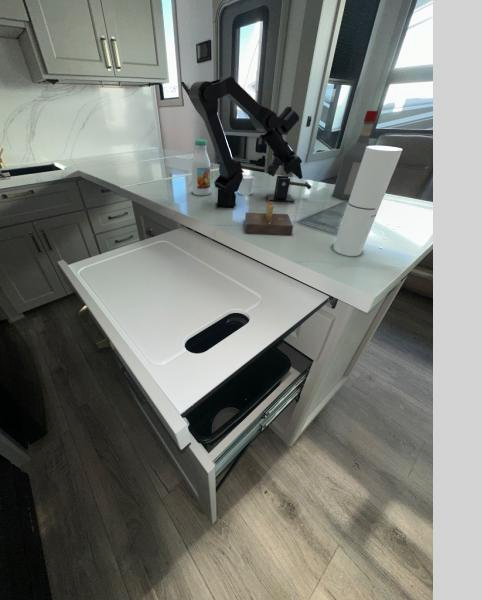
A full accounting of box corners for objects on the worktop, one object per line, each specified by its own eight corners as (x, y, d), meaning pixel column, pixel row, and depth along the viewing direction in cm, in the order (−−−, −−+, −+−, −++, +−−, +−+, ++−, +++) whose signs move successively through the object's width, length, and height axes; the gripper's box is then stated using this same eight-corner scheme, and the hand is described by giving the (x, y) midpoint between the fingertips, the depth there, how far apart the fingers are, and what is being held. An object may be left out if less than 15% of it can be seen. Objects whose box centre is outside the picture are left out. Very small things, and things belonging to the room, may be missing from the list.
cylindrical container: (329, 244, 77) (360, 145, 61) (352, 243, 77) (389, 145, 62) (340, 256, 71) (378, 150, 56) (366, 255, 72) (410, 150, 56)
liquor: (361, 199, 110) (393, 111, 91) (344, 202, 107) (374, 111, 89) (344, 193, 117) (371, 110, 98) (328, 196, 114) (352, 110, 95)
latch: (307, 187, 107) (309, 180, 106) (310, 190, 103) (312, 184, 102) (277, 183, 107) (279, 176, 106) (279, 186, 103) (281, 180, 102)
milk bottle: (190, 195, 113) (189, 141, 101) (194, 190, 119) (193, 138, 107) (208, 196, 112) (209, 141, 100) (211, 191, 118) (212, 139, 106)
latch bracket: (290, 197, 112) (294, 175, 106) (293, 203, 105) (298, 180, 100) (266, 196, 112) (269, 174, 107) (268, 202, 106) (271, 179, 100)
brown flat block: (245, 233, 82) (246, 223, 81) (244, 221, 90) (245, 212, 88) (291, 235, 82) (293, 225, 80) (286, 222, 90) (288, 213, 88)
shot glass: (252, 192, 118) (254, 175, 113) (253, 196, 112) (255, 179, 108) (237, 191, 118) (238, 174, 114) (237, 196, 113) (238, 178, 108)
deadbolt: (271, 221, 82) (273, 206, 79) (266, 221, 82) (268, 206, 79) (269, 215, 86) (272, 201, 83) (265, 215, 86) (267, 200, 83)
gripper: (258, 157, 108) (280, 186, 114) (261, 166, 93) (287, 200, 99) (281, 135, 103) (303, 167, 109) (288, 141, 88) (314, 178, 94)
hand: (301, 178), depth 103 cm, fingers closed
